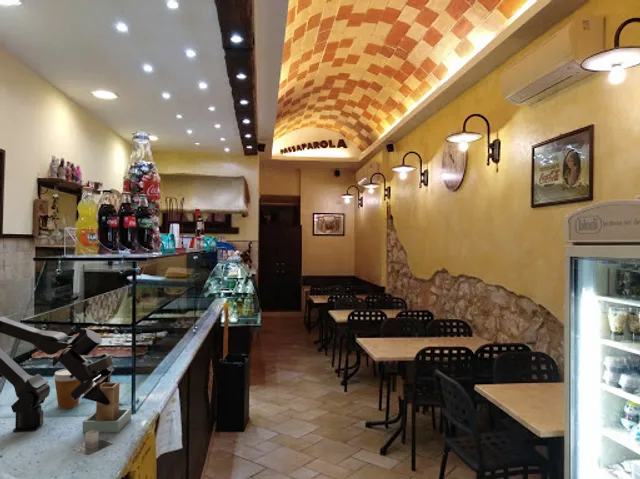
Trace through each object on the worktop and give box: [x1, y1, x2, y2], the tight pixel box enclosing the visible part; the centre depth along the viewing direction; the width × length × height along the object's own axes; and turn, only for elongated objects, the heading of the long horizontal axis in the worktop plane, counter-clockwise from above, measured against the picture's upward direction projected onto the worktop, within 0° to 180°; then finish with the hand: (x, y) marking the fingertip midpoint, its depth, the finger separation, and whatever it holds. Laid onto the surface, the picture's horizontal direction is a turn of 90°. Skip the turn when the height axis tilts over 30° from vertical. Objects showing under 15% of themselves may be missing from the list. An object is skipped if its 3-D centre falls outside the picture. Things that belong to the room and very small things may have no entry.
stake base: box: [69, 430, 114, 456], centre depth 132 cm, size 8×8×5 cm
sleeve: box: [95, 381, 120, 421], centre depth 146 cm, size 5×5×11 cm
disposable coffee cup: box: [52, 368, 80, 410], centre depth 164 cm, size 10×10×12 cm
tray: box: [82, 408, 132, 434], centre depth 146 cm, size 11×11×4 cm
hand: (112, 400), depth 146 cm, fingers closed on sleeve, 5 cm apart
